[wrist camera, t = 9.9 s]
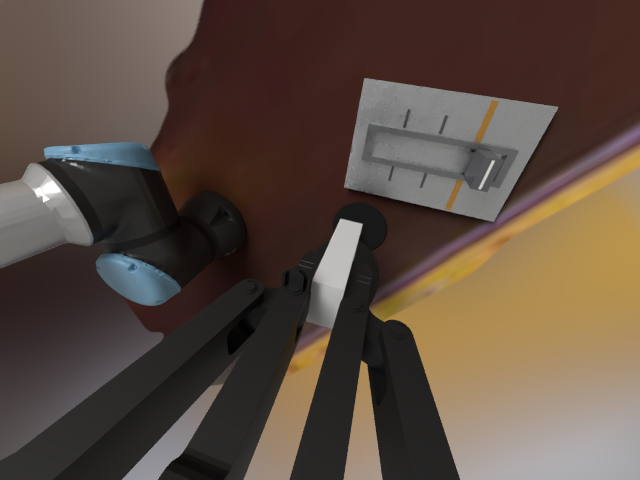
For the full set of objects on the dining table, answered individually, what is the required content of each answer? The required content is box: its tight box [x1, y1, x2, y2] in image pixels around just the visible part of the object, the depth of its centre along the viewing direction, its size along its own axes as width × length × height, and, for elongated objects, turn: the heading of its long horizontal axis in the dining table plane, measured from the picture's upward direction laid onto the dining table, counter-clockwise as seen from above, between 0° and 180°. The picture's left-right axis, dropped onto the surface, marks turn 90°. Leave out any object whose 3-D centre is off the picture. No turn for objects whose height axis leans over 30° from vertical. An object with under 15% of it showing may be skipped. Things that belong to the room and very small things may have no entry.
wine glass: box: [315, 203, 387, 307], centre depth 41 cm, size 10×10×20 cm
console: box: [344, 78, 558, 222], centre depth 38 cm, size 24×16×3 cm, turn 82°
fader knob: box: [463, 149, 503, 192], centre depth 34 cm, size 2×4×6 cm, turn 172°
